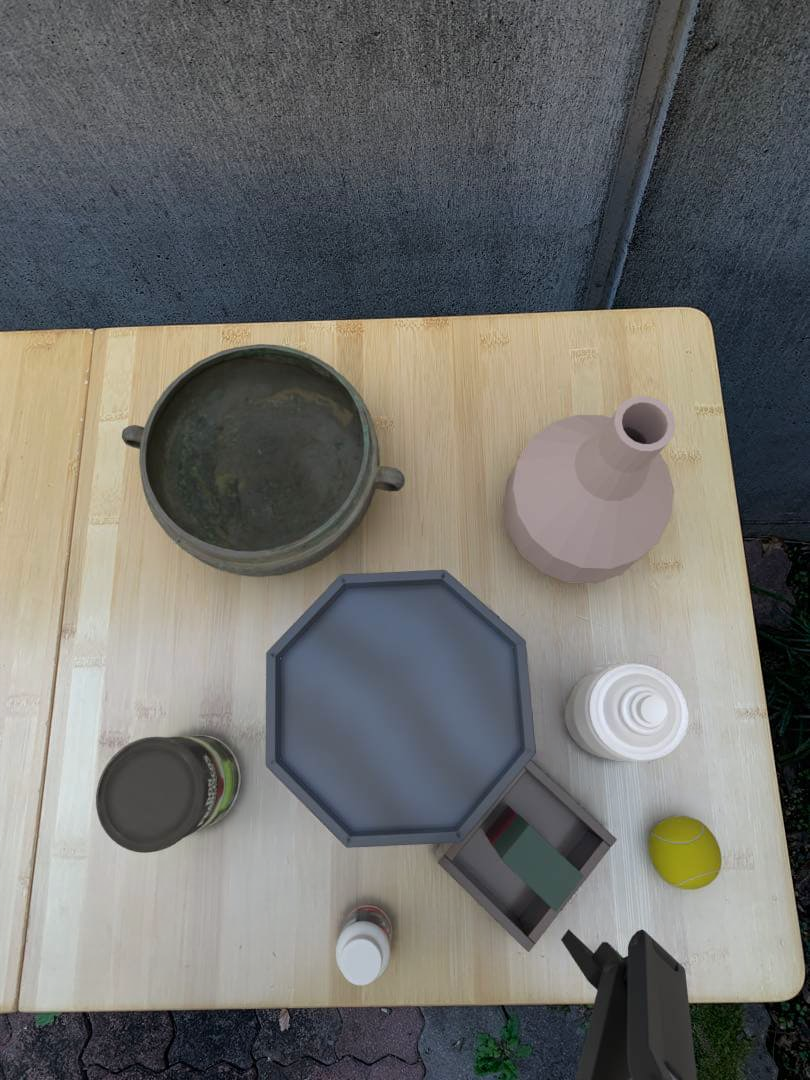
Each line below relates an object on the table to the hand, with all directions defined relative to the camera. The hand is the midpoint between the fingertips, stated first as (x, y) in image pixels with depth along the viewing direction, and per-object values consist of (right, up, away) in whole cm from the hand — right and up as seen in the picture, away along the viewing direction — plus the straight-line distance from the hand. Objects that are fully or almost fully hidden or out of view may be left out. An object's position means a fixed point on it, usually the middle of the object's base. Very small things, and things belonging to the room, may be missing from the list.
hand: (507, 1049), depth 39 cm
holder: (+7, -4, +37) cm, 38 cm away
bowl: (-22, +35, +48) cm, 63 cm away
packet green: (+7, -2, +29) cm, 30 cm away
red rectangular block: (+7, -4, +36) cm, 37 cm away
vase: (+14, +31, +46) cm, 57 cm away
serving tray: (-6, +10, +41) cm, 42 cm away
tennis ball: (+24, -5, +37) cm, 44 cm away
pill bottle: (-10, -13, +35) cm, 39 cm away
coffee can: (-30, +2, +39) cm, 49 cm away
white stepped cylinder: (+16, +9, +40) cm, 44 cm away
